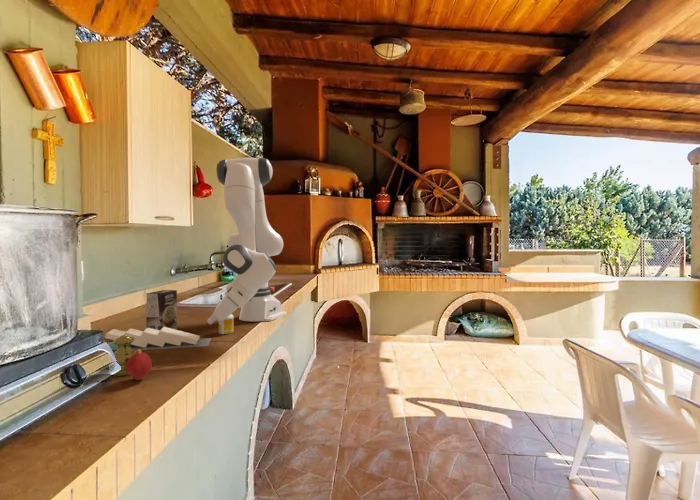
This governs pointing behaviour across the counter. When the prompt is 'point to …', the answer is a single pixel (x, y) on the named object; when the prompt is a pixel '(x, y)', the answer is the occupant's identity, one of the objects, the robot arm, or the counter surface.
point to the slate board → (150, 347)
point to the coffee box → (161, 309)
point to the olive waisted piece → (123, 352)
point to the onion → (138, 365)
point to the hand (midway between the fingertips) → (208, 322)
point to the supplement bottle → (227, 325)
